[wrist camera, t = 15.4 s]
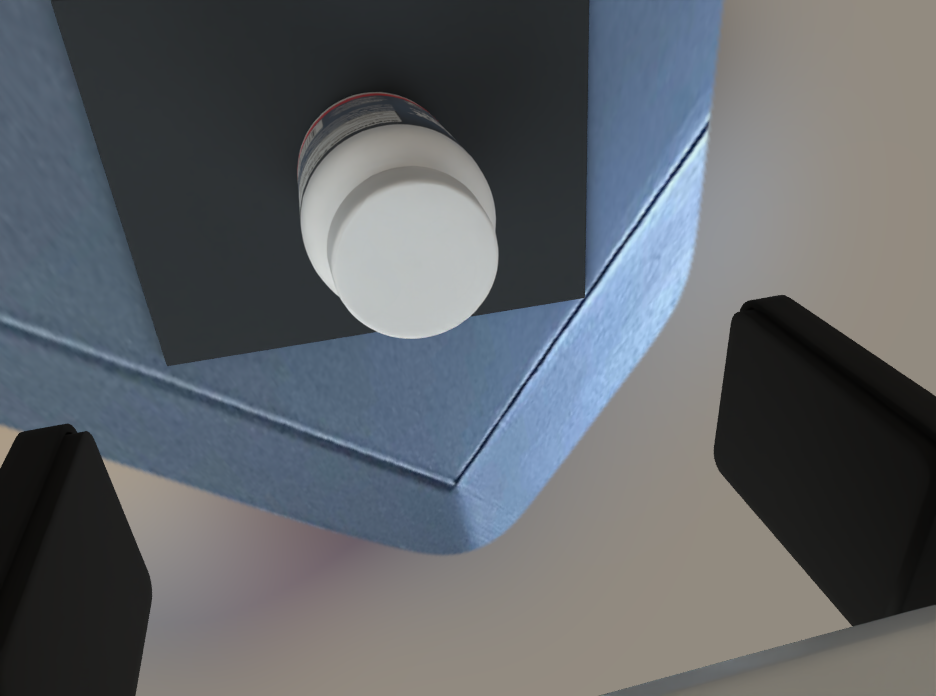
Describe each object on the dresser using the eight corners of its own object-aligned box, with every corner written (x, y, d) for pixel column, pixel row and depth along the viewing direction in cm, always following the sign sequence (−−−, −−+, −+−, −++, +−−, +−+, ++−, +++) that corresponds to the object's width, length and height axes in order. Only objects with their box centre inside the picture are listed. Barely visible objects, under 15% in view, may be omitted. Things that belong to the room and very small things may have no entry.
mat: (168, 361, 26) (166, 366, 26) (54, -1, 20) (50, 0, 20) (581, 294, 29) (585, 298, 29) (585, -45, 23) (590, -45, 23)
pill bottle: (476, 201, 26) (558, 303, 18) (347, 269, 26) (375, 400, 18) (409, 58, 23) (472, 109, 15) (265, 136, 23) (257, 224, 15)
